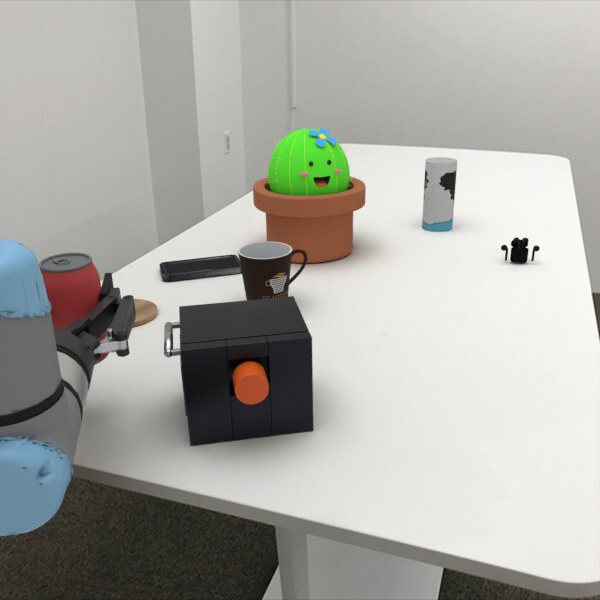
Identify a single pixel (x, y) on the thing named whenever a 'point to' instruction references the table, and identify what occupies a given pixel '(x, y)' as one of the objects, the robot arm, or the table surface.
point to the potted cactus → (310, 196)
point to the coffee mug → (267, 269)
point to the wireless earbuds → (519, 250)
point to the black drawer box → (232, 352)
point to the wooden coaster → (144, 311)
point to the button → (250, 382)
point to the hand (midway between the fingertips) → (78, 285)
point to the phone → (200, 267)
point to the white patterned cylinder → (439, 194)
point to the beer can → (71, 288)
